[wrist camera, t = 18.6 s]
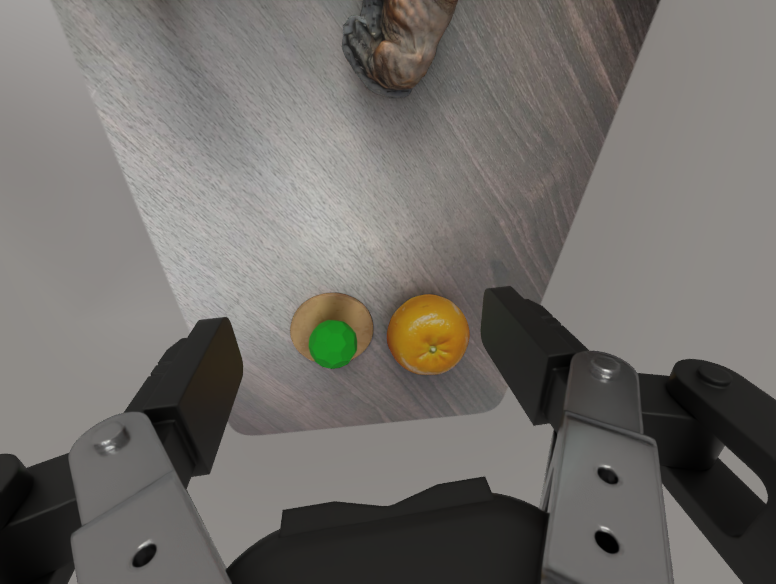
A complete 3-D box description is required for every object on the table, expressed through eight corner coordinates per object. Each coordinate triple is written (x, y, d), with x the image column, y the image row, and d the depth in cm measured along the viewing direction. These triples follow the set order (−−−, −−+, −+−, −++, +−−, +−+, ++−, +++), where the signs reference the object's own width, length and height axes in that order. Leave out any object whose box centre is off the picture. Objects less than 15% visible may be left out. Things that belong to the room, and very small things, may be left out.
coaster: (370, 288, 37) (371, 291, 37) (374, 356, 41) (375, 359, 41) (284, 297, 36) (283, 300, 36) (297, 365, 40) (297, 369, 40)
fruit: (443, 273, 34) (449, 352, 30) (477, 306, 40) (485, 376, 36) (373, 295, 38) (370, 367, 34) (413, 322, 44) (415, 386, 40)
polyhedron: (307, 347, 39) (305, 376, 34) (312, 309, 37) (310, 334, 32) (352, 351, 40) (355, 379, 36) (359, 314, 38) (363, 339, 34)
